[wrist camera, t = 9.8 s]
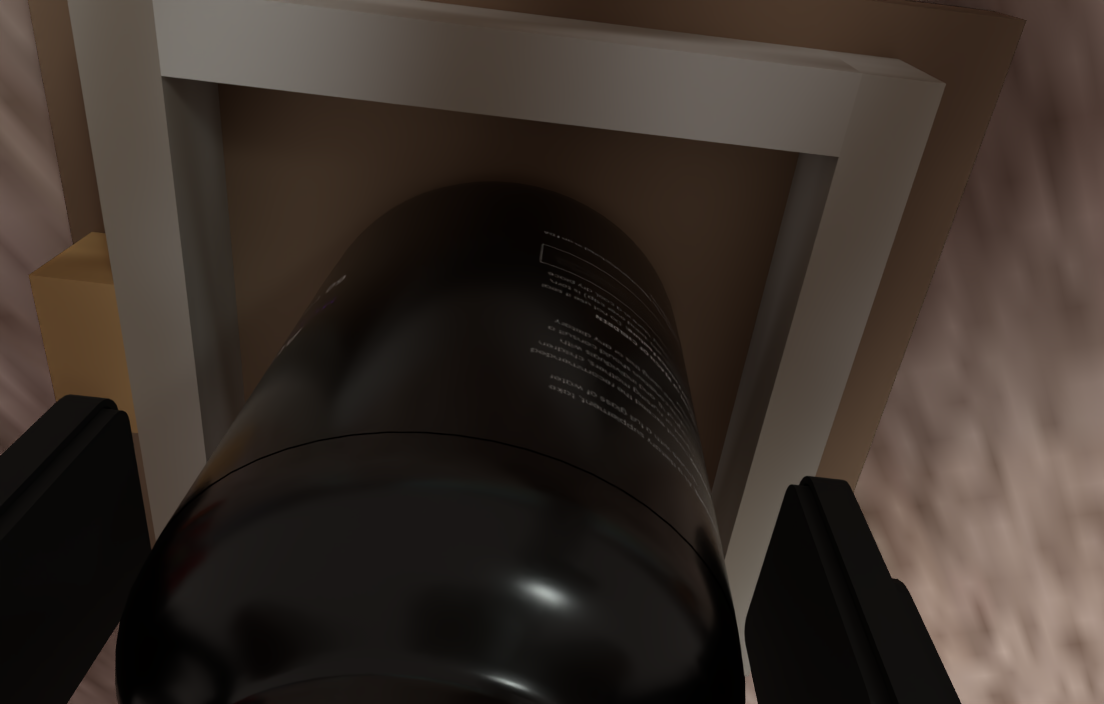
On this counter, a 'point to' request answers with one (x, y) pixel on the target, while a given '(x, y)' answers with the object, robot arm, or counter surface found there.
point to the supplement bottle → (453, 486)
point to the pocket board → (520, 157)
